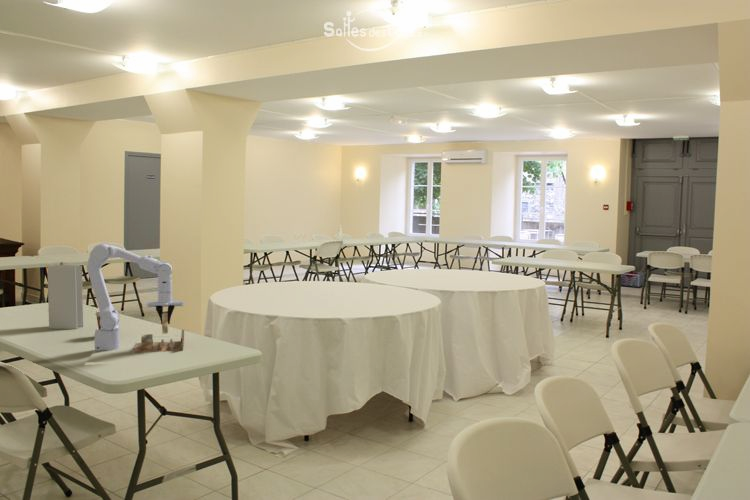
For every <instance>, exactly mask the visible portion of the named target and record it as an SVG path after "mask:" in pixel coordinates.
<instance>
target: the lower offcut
mask: <svg viewBox="0 0 750 500" xmlns="http://www.w3.org/2000/svg"><path fill="white" fill-rule="evenodd" d="M153 342H154V339H153V340H152V343H141V342H140V343H141V350H142V349H152V346H153Z"/></svg>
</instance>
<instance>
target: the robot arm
mask: <svg viewBox="0 0 750 500" xmlns="http://www.w3.org/2000/svg"><path fill="white" fill-rule="evenodd" d="M109 258H110V259H113V258H115V259H116V258H120V259H124V260H126V261H128V262H132V263H134V264H137V265H138V267H139V268H140V269H142V270H145V271H147V272H150V273H151V274H157V301H150V302H149V301H147V302H146V308H155V311H156V312H157V315H158V317H159V320H160V324H161V325H162V313H163V311H164V310H163V309H164V308H165V307H167V310H168V324H169V325H170V324H171V317H172V314H173V312H174V309H175V307H184V301H183V300H182V301H181V300H173V280H172V278H173V277H172V272H173V266H172V265H171V264H170V263H168V262H167V261H164V260H162V259H161V260H159V259H156V258H154V257H153V256H152V255H151V254H149V255H147V254H146V255H143V256H141V255H138V254H136V253H133V252H131V251H129V250H127V249H124V248H122V247H119V246H116V245H110V244H109V243H105V242H104V243H101V244H97V245H96V246H94V248H93V249H92V250H91V251H90V253H89V258H88V261H87V263H86V265H85V266H86V270H87V275H88V278H89V280H90V284H91V286H92V290H93V292H94V296H95V299H96V303H97V306H98V310H99V315H100V326H101V328H100V330H99V329H95V331H94V351H114V350H118V349H120V348H121V346H120V345H121V344H120V343H121V341H120V339H121V338H120V326H119V325H118V324H119V322H120V319H121V317H120V315H119V313H118V314H117V313H116V311H115V307H114V305H113V304H112V301H111V298H110V294H109V291H108V289H107V286H106V282H105V278H104V275H103V273H102V270H101V268H102V266H103V265H104V263H105V261H107V260H108V259H109Z"/></svg>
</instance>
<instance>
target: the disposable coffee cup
mask: <svg viewBox="0 0 750 500" xmlns="http://www.w3.org/2000/svg"><path fill="white" fill-rule="evenodd" d="M114 309H115V308H114ZM115 311H116V313H117V314H118V315H119V312H118V309H115ZM95 316H96V321H97V326H98V330H100V328H101V326H100V315H99V309H98V310H96V312H95Z"/></svg>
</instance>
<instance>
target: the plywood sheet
mask: <svg viewBox="0 0 750 500" xmlns="http://www.w3.org/2000/svg"><path fill="white" fill-rule="evenodd" d="M161 329H162V330H161V331H162V332H161V333H162V334H163V335H164V334H168V333H169V329H170V324H168V309H164V310H163V313H162V324H161Z"/></svg>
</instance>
